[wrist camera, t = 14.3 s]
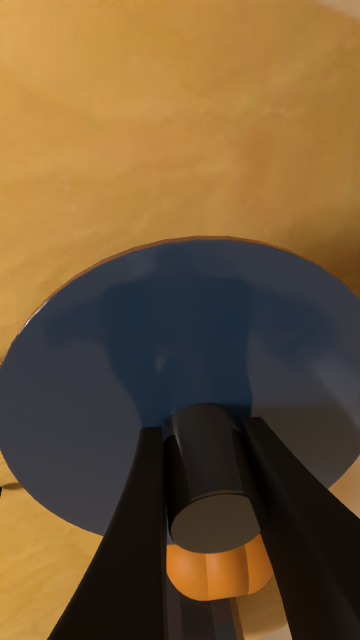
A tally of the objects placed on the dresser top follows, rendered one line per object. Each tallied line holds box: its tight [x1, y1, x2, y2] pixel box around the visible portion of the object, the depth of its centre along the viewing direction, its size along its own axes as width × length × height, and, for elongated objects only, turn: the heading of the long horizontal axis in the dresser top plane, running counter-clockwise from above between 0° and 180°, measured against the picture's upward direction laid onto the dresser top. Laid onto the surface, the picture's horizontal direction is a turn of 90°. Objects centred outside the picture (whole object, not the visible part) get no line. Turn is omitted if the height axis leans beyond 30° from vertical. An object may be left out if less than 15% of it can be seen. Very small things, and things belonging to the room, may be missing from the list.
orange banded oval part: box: [167, 533, 274, 601], centre depth 21 cm, size 7×5×5 cm
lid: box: [0, 236, 360, 554], centre depth 10 cm, size 13×13×4 cm
